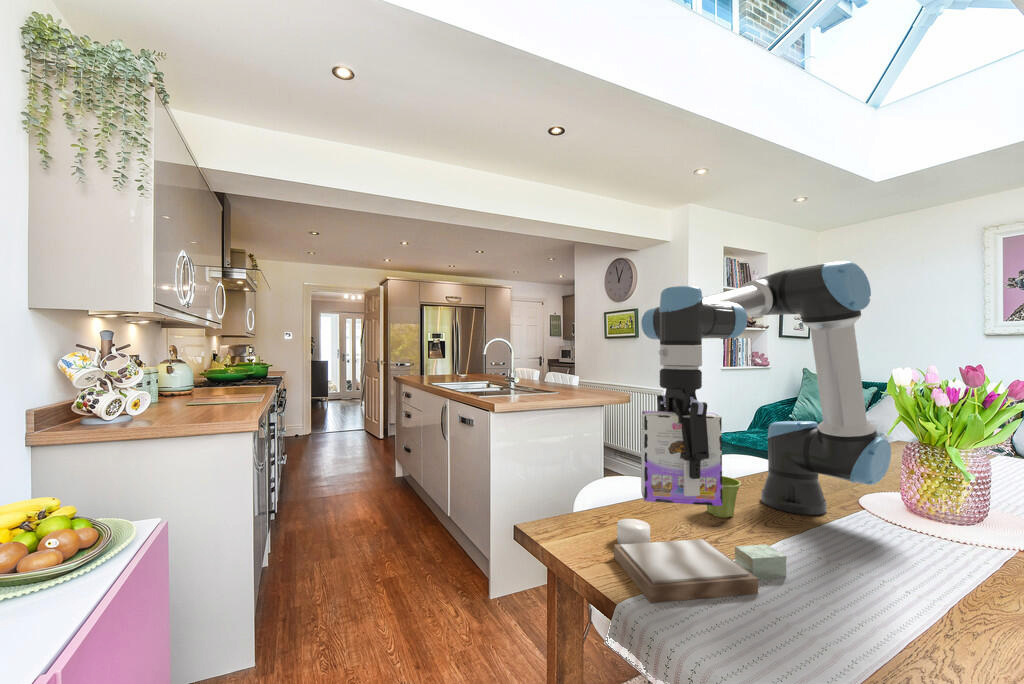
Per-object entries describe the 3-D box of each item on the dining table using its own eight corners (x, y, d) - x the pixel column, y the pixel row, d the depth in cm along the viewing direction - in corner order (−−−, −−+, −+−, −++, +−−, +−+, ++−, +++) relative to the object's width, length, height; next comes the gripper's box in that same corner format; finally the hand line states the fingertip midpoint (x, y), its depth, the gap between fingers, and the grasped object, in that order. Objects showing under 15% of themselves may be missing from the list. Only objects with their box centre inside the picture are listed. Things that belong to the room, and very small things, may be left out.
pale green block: (767, 564, 86) (766, 544, 86) (786, 577, 81) (786, 556, 81) (735, 566, 85) (734, 546, 85) (752, 580, 80) (752, 558, 80)
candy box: (714, 497, 83) (714, 411, 84) (723, 507, 78) (723, 416, 78) (640, 491, 86) (640, 409, 86) (643, 501, 80) (644, 413, 81)
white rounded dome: (641, 535, 99) (641, 517, 99) (656, 549, 92) (656, 530, 92) (612, 537, 98) (612, 519, 98) (625, 551, 91) (625, 532, 91)
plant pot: (743, 523, 106) (742, 487, 106) (701, 517, 110) (701, 483, 110) (738, 510, 115) (738, 477, 115) (700, 505, 118) (700, 473, 119)
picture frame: (703, 551, 91) (703, 536, 91) (758, 593, 75) (758, 576, 75) (613, 557, 88) (613, 542, 88) (650, 602, 72) (650, 584, 72)
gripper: (638, 365, 92) (638, 474, 91) (691, 370, 72) (691, 508, 71) (671, 366, 93) (671, 473, 92) (732, 370, 73) (732, 506, 73)
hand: (680, 488), depth 82 cm, fingers closed on candy box, 7 cm apart
